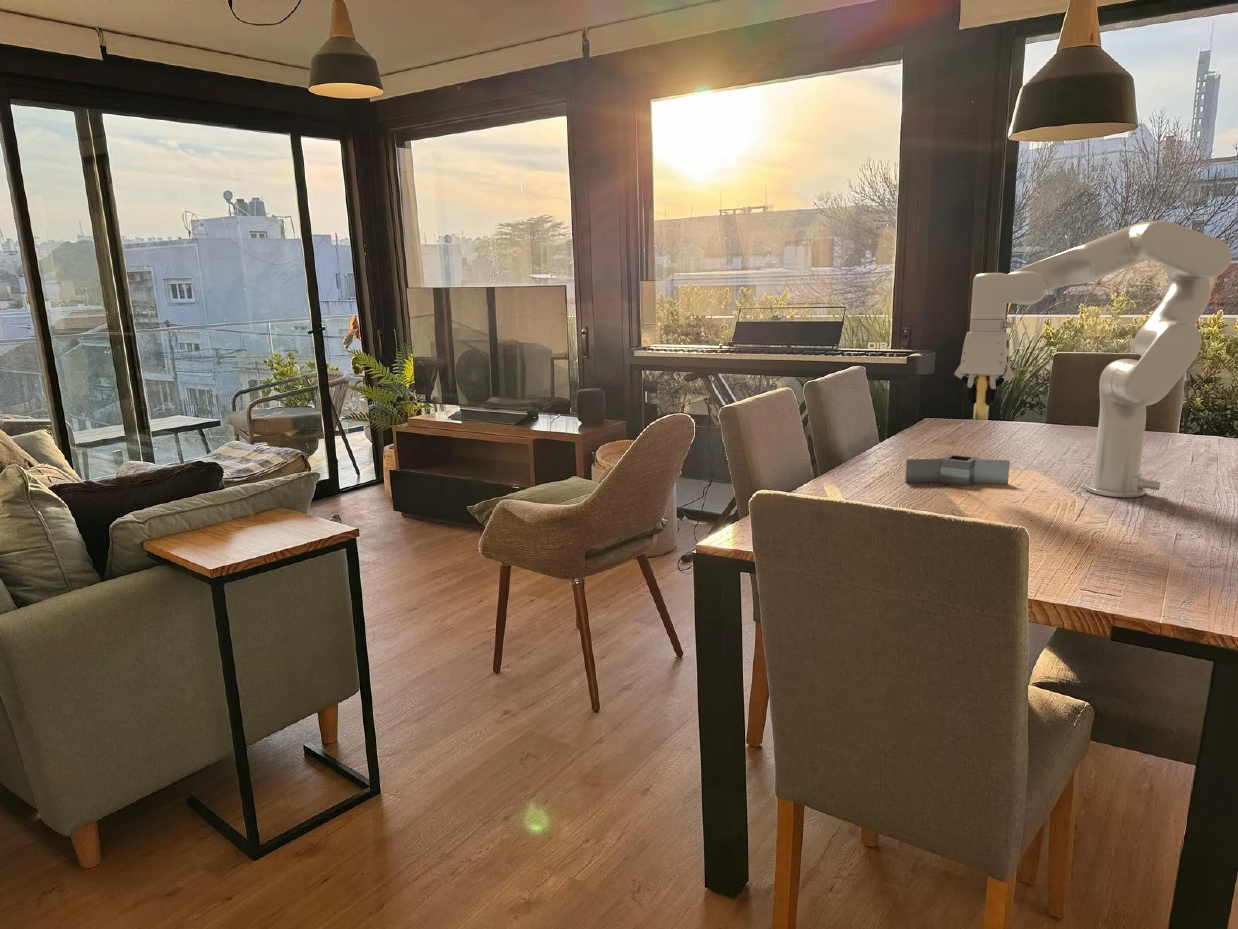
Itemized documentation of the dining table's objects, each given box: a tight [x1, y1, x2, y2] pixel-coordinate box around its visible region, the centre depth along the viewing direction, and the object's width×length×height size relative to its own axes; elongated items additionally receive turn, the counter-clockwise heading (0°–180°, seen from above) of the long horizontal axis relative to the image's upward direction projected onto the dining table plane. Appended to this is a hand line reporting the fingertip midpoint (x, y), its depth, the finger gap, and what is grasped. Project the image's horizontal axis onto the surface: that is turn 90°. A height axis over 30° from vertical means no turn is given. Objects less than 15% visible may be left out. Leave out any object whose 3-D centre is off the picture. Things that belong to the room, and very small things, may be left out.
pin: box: [972, 375, 990, 421], centre depth 200 cm, size 3×3×12 cm
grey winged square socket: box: [904, 453, 1011, 487], centre depth 211 cm, size 21×13×6 cm, turn 51°
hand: (981, 403), depth 201 cm, fingers closed on pin, 3 cm apart
